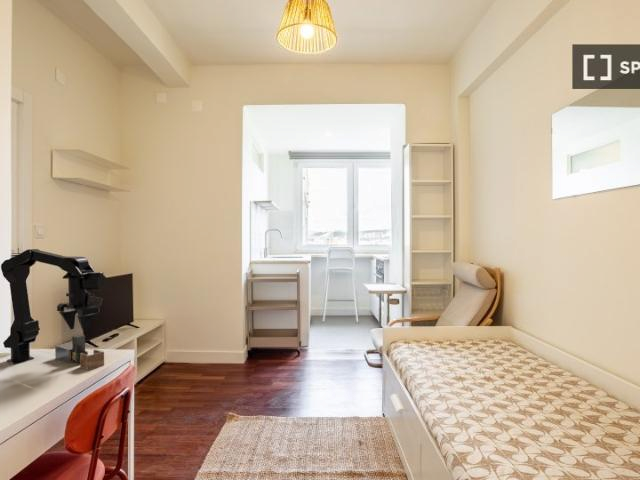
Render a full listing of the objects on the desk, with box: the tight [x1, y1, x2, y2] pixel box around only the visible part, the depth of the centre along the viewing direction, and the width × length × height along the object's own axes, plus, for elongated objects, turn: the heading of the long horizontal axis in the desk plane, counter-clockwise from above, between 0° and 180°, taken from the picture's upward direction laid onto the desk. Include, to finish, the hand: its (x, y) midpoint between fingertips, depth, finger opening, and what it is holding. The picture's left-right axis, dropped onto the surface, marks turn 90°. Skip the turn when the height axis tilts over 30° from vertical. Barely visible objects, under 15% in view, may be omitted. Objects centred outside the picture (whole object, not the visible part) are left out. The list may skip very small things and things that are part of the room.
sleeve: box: [54, 342, 75, 364], centre depth 143 cm, size 10×5×5 cm, turn 61°
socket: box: [79, 349, 105, 371], centre depth 135 cm, size 6×5×5 cm
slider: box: [71, 334, 89, 363], centre depth 142 cm, size 15×3×9 cm, turn 61°
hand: (78, 330), depth 139 cm, fingers open, 9 cm apart
